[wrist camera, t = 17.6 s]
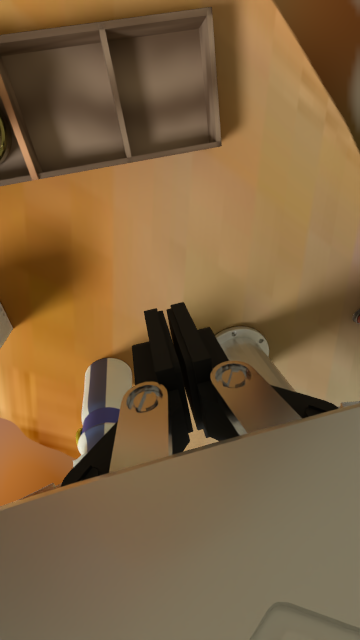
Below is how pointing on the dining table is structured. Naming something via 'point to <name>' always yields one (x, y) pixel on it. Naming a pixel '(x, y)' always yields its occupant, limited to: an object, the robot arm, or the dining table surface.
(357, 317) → the lighter
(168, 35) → the wooden compartment tray
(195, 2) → the dining table surface
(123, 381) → the water bottle
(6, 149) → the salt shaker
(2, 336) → the small box
